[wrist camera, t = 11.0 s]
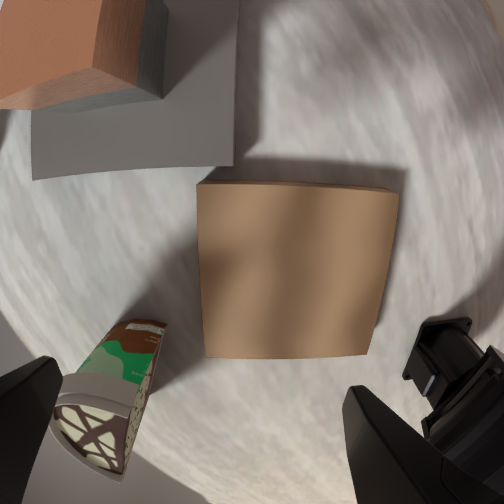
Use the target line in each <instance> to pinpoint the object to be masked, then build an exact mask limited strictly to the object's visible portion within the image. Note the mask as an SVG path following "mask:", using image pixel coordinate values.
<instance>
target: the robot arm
mask: <svg viewBox="0 0 504 504" xmlns="http://www.w3.org/2000/svg"><path fill="white" fill-rule="evenodd" d="M471 325H472V320H471V319H470V318H469V317H467V318H460V319H453V320H445V321H437V322H428V323H424V324H423V325H422V326H421V327H420V330H419V333H418V336H417V338H416V341H415V344H414V347H413V349H412V352H411V354H410V357H409V359H408V362H407V364H406V367H405V369H404V372H403V374H402V377H403V379H404V380H410V379H413V381H414V383H415V385H416V386H417V388H418V390H419V392H420V393H421V395H422V396H423V397H425V396H426V398H427V399H428V401H429V403H430V405H431V406H432V408H433V411H432V412H431V413H430V414H429V415H428V416H427V417H425V418H424V419H423V420H422V421H421V424H422V429H423V434H424V437H422V436H421V435H420V434H419V433H418V432H417V431H415V430H414V429H413V428H412V427H411V426H410V425H409V424H407V423H406V422H405V421H404V420H403V419H402V418H400V417H399V416H398V415H397V414H396V413H395V412H394V411H392V410H391V409H390V408H389V407H388V406H387V405H386V404H385V403H383V402H382V401H381V400H380V399H379V398H378V397H377V396H375V395H374V394H373V393H372V392H371V391H370V390H369V389H368V388H366V387H365V386H363V385H358V386H351V387H350V388H349V389H348V391H347V394H346V397H345V400H344V403H343V406H342V414H343V423H344V432H345V441H346V451H347V457H348V462H349V467H350V471H351V476H352V480H353V485H354V489H355V494H356V499H357V504H504V354H503V353H502V352H500V351H499V350H497V349H496V348H494V347H493V346H491V345H489V347H488V348H487V349H486V352H485V353H484V352H483V351H482V350H481V349H480V348H479V346H478V345H477V344H476V343H475V342H474V341H473V340H472V339H471V338H470V337H469V335H468V332H469V330H470V327H471ZM62 384H63V376H62V374H61V371H60V369H59V367H58V364H57V362H56V360H55V359H54V358H52V357H49V356H41V357H39V358H37V359H35V360H33V361H31V362H30V363H27V364H25V365H23V366H21V367H19V368H17V369H15V370H13V371H11V372H9V373H7V374H5V375H3V376H1V377H0V504H21V503H22V499H23V496H24V493H25V489H26V486H27V483H28V480H29V477H30V474H31V470H32V467H33V465H34V462H35V459H36V456H37V454H38V451H39V448H40V446H41V443H42V440H43V438H44V435H45V433H46V430H47V428H48V425H49V423H50V420H51V418H52V415H53V411H54V408H55V405H56V402H57V399H58V396H59V393H60V390H61V387H62Z"/></svg>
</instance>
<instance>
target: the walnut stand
mask: <svg viewBox="0 0 504 504" xmlns="http://www.w3.org/2000/svg"><path fill="white" fill-rule="evenodd" d="M196 190H197V230H198V255H199V275H200V292H201V307H202V321H203V334H204V345H205V356H206V357H207V358H230V359H303V358H326V357H342V356H355V355H367V352H368V349H369V345H370V342H371V338H372V335H373V331H374V328H375V324H376V320H377V316H378V312H379V308H380V304H381V300H382V296H383V291H384V287H385V282H386V277H387V272H388V267H389V262H390V257H391V251H392V245H393V239H394V233H395V227H396V220H397V212H398V204H399V195H400V194H398V193H396V192H393V191H390V190H388V189H382V188H372V187H361V186H349V185H336V184H321V183H304V182H282V181H244V180H202V181H201V182H199V183H198V184H196Z"/></svg>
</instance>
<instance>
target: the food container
mask: <svg viewBox="0 0 504 504" xmlns="http://www.w3.org/2000/svg"><path fill="white" fill-rule="evenodd" d="M166 327H167V324H165V323H161V322H158V321H155V320H144V319H133V320H128V321H124V322H120V323H119V324H118V325H116V326H115V327H114V328H112V329H111V330H110V331H109V332H108V333H107V334H106V336H105V337H104V338H103V339H102V340H101V342H100V343H99V344H98V345H97V347H96V348H95V349H94V350H93V351H92V353H91V354H90V355H89V356H88V358H87V359H86V360H85V361H84V363H83V364H82V365H81V366H80V368H79V369H78V370H77V371H76V373H73V374H68V375H65V376H63V384H62V387H61V390H60V393H59V396H58V399H57V402H56V405H55V408H54V411H53V415H52V418H51V420H50V423H49V425H48V427H49V429H50V431H51V433H52V434H53V436H54V438H55V439H56V440H57V441H58V442H59V444H60V445H61V446H62V447H63V448H64V449H65V450H66V451H67V452H68V453H69V454H70V455H71V456H73V457H74V458H75V459H76V460H78V461H79V462H80V463H82V464H83V465H85V466H86V467H88V468H89V469H91V470H93V471H94V472H96V473H98V474H100V475H102V476H104V477H106V478H108V479H111V480H113V481H115V482H117V483H120V484H122V481H123V478H124V475H125V472H126V469H127V464H128V460H129V457H130V454H131V451H132V447H133V444H134V441H135V438H136V435H137V432H138V428H139V425H140V422H141V419H142V416H143V413H144V410H145V407H146V404H147V401H148V398H149V395H150V391H151V386H152V382H153V378H154V374H155V370H156V366H157V362H158V358H159V354H160V350H161V346H162V342H163V339H164V335H165V331H166Z"/></svg>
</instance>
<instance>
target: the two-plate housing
mask: <svg viewBox="0 0 504 504" xmlns="http://www.w3.org/2000/svg"><path fill="white" fill-rule="evenodd" d="M168 19H169V9H168V8H167V6H166V5H165V3H164V2H163V0H4V1H3V4H2V7H1V10H0V109H17V110H37V111H51V112H62V113H73V114H76V113H80V112H85V111H90V110H95V109H100V108H105V107H111V106H117V105H123V104H130V103H137V102H145V101H154V100H163V83H164V65H165V51H166V39H167V29H168Z"/></svg>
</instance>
